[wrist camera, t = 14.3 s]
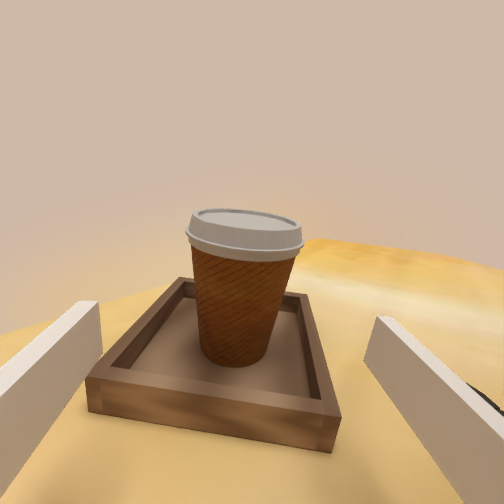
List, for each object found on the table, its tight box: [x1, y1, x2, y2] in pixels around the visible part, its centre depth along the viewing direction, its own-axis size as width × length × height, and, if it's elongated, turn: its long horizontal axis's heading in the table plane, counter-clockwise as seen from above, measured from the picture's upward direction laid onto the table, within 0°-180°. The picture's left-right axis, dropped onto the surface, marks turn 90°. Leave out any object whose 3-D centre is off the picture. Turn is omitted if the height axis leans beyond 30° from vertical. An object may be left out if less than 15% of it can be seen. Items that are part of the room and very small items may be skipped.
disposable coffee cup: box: [185, 208, 305, 367], centre depth 21 cm, size 10×10×12 cm
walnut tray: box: [85, 277, 342, 453], centre depth 23 cm, size 16×16×3 cm
